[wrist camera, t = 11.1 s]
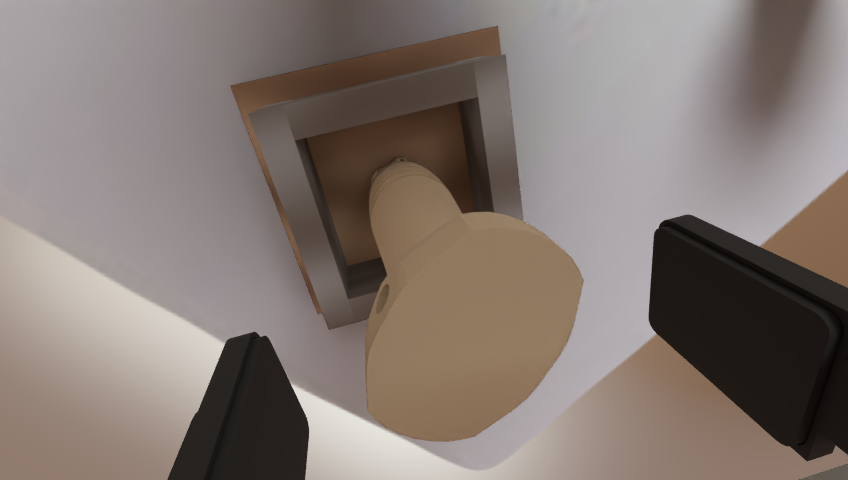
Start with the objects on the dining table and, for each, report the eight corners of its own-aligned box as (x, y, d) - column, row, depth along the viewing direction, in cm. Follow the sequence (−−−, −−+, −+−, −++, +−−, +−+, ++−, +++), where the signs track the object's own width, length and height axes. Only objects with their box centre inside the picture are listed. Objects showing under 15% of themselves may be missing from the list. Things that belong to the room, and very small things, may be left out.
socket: (236, 84, 21) (205, 89, 16) (490, 27, 22) (529, 17, 18) (318, 304, 27) (313, 353, 22) (516, 250, 28) (551, 286, 23)
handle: (459, 151, 23) (619, 272, 10) (409, 244, 25) (487, 454, 12) (384, 112, 22) (453, 194, 8) (336, 214, 24) (329, 419, 10)
